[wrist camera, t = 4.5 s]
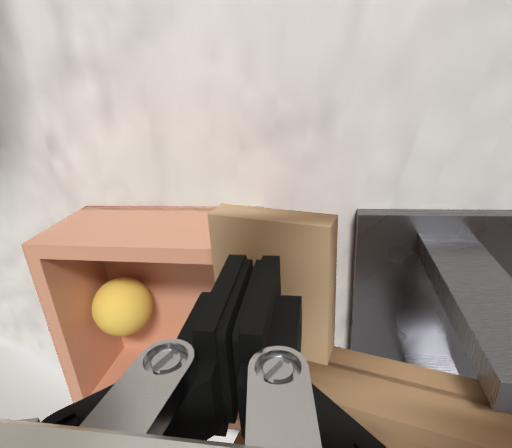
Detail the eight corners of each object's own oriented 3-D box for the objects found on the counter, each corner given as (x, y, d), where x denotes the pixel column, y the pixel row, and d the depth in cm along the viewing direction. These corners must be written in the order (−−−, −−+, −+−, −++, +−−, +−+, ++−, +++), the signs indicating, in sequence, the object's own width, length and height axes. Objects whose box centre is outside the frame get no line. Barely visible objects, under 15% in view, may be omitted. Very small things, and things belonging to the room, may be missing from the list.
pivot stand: (536, 210, 17) (771, 372, 8) (495, 376, 21) (624, 612, 12) (356, 209, 19) (387, 346, 10) (349, 365, 22) (365, 568, 13)
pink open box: (263, 206, 19) (244, 250, 15) (271, 360, 23) (258, 431, 19) (85, 206, 21) (20, 244, 17) (120, 348, 25) (76, 411, 21)
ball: (96, 305, 18) (78, 280, 20) (109, 357, 19) (91, 328, 22) (157, 282, 20) (134, 261, 22) (166, 330, 21) (143, 306, 23)
